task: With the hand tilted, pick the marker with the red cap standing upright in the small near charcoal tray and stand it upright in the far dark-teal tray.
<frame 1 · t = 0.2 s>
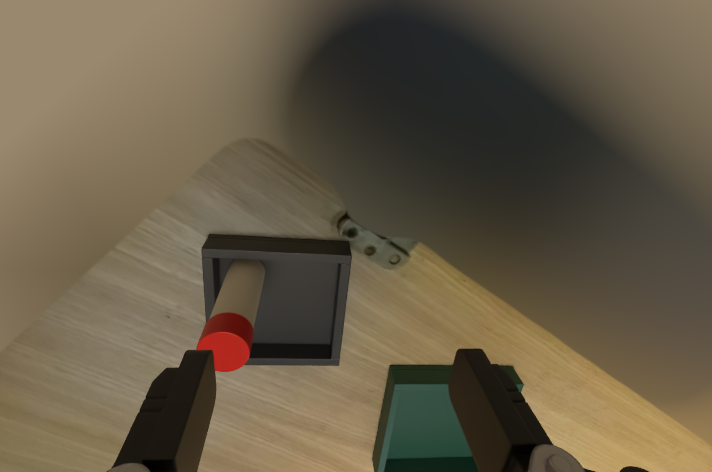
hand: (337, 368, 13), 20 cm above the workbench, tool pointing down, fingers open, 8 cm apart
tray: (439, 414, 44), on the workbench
marker: (247, 271, 33), point 1 cm above the workbench, touching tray
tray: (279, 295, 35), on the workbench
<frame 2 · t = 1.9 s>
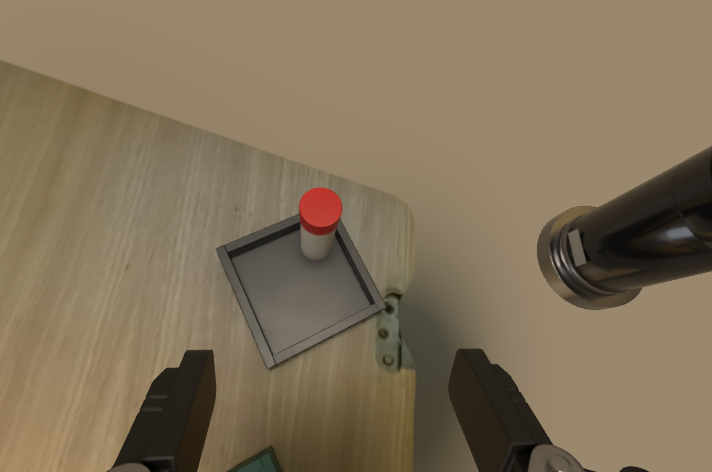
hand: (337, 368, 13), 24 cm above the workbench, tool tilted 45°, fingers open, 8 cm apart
marker: (315, 246, 38), point 1 cm above the workbench, touching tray
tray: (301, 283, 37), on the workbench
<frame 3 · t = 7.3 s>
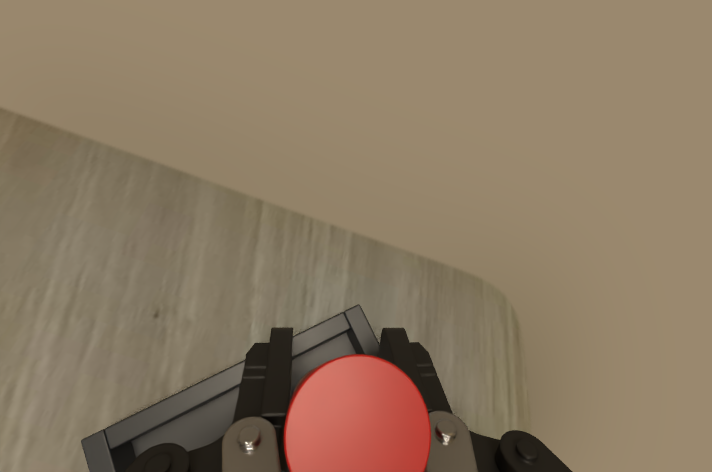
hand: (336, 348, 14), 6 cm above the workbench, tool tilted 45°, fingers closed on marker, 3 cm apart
marker: (325, 401, 18), point 1 cm above the workbench, touching gripper, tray
when the fingers open (6 cm above the workbench, at t = 16.8 s): marker stays where it is, resting on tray.
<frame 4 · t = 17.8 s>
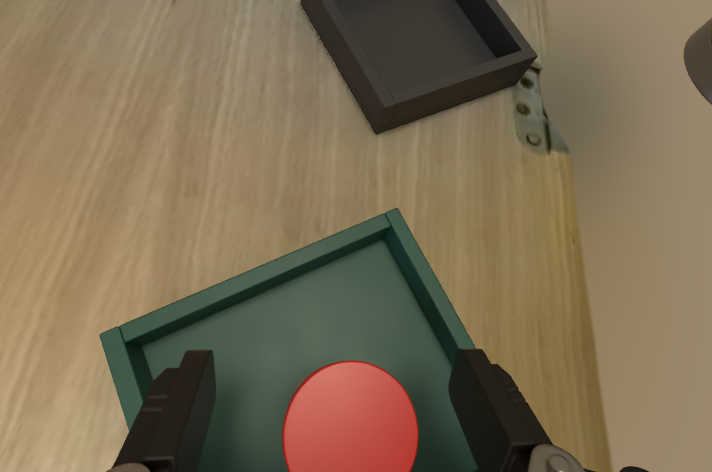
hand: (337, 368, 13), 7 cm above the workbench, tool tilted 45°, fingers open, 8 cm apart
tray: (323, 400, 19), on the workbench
marker: (323, 402, 18), point 1 cm above the workbench, touching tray
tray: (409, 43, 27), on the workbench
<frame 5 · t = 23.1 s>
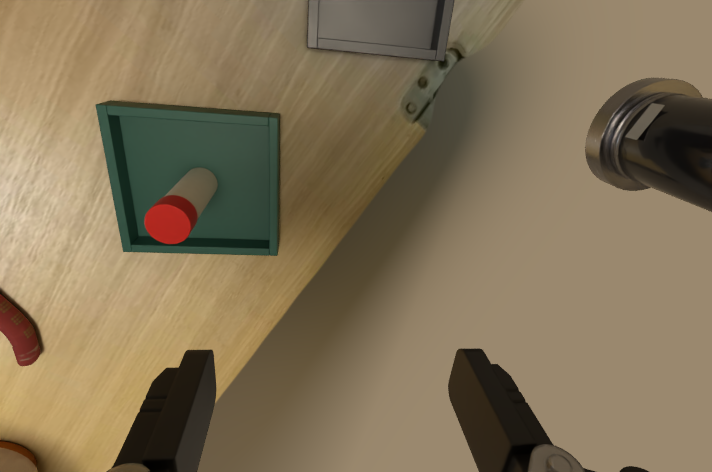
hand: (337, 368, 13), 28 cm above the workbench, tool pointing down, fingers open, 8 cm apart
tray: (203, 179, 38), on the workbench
marker: (201, 182, 37), point 1 cm above the workbench, touching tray
lamp: (5, 460, 51), on the workbench
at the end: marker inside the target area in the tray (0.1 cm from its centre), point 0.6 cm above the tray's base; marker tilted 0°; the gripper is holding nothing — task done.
